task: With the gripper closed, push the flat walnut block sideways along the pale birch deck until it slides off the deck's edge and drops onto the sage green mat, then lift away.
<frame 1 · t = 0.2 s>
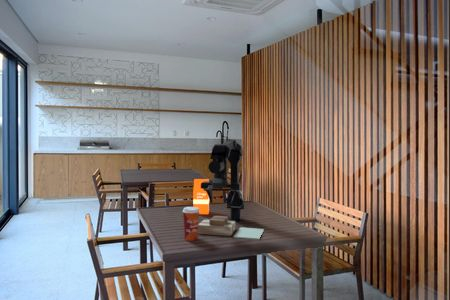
hand: (220, 203, 173), 14 cm above the table, tool pointing down, fingers open, 9 cm apart
sage mat: (249, 233, 174), on the table
orange juice: (201, 212, 217), on the table
walnut block: (218, 223, 177), point 4 cm above the table, touching birch deck
paper cup: (191, 239, 165), on the table
birch deck: (216, 231, 178), on the table
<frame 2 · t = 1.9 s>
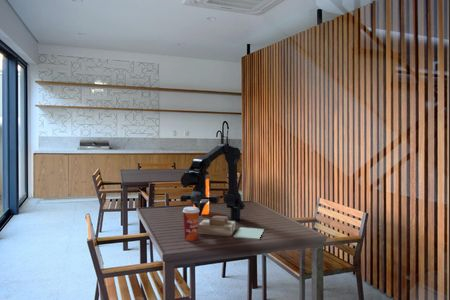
hand: (199, 215, 179), 7 cm above the table, tool pointing down, fingers closed
nothing on the table moved.
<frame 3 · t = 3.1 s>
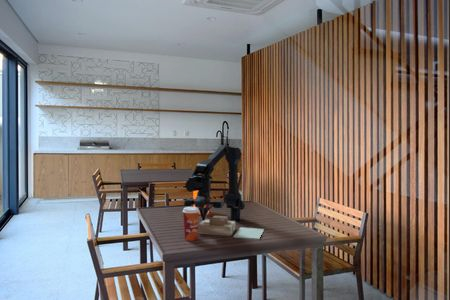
hand: (203, 220, 179), 5 cm above the table, tool pointing down, fingers closed
nothing on the table moved.
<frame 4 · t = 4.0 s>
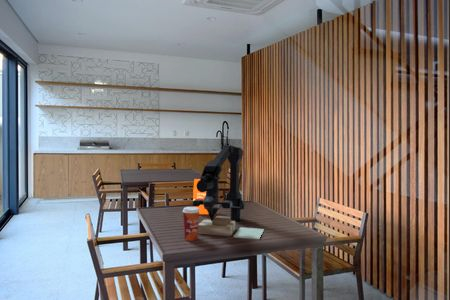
hand: (212, 221, 178), 5 cm above the table, tool pointing down, fingers closed
walnut block: (221, 223, 177), point 4 cm above the table
everything else where it was.
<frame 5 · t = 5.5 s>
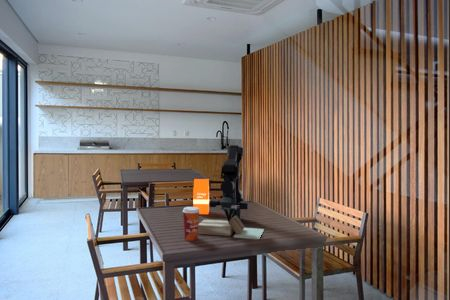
hand: (229, 221, 176), 5 cm above the table, tool pointing down, fingers closed
walnut block: (234, 226, 175), point 3 cm above the table, tilted 52°, touching gripper, sage mat
everything else where it was.
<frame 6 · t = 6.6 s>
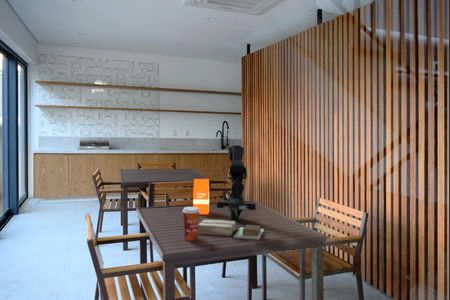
hand: (236, 222, 175), 5 cm above the table, tool pointing down, fingers closed
walnut block: (251, 227, 173), point 3 cm above the table, tilted 180°, touching sage mat
everything else where it was.
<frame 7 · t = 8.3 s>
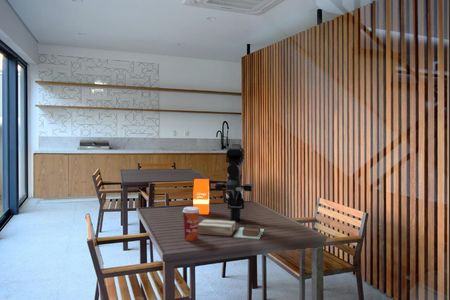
hand: (234, 203, 186), 12 cm above the table, tool pointing down, fingers closed
nothing on the table moved.
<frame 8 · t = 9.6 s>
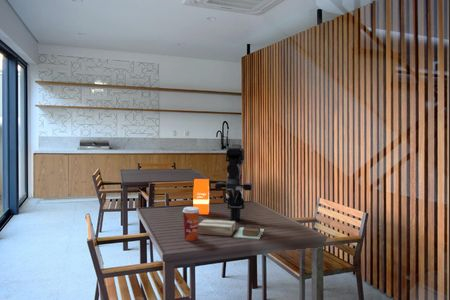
hand: (233, 203, 186), 12 cm above the table, tool pointing down, fingers closed
nothing on the table moved.
at the end: walnut block inside the target area (1.3 cm from its centre), point 3.0 cm above the table; walnut block touching sage mat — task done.
